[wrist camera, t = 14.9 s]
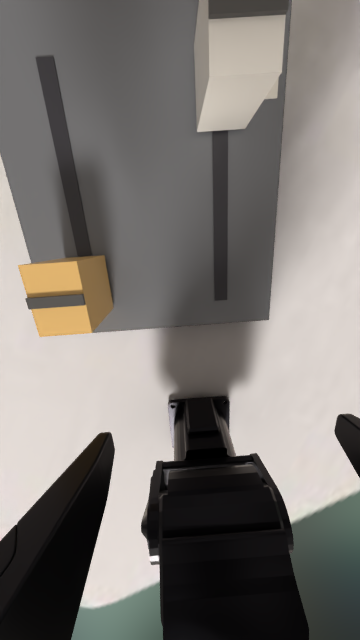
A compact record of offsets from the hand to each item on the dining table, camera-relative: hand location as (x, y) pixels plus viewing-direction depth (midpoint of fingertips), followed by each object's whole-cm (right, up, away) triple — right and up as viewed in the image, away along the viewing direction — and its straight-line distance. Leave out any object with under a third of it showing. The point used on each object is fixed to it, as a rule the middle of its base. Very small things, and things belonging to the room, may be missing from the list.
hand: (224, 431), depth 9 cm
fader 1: (-9, +7, +8) cm, 14 cm away
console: (-4, +14, +9) cm, 17 cm away
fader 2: (+1, +18, +4) cm, 19 cm away
